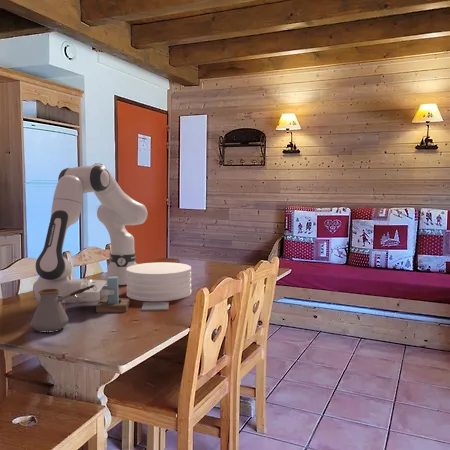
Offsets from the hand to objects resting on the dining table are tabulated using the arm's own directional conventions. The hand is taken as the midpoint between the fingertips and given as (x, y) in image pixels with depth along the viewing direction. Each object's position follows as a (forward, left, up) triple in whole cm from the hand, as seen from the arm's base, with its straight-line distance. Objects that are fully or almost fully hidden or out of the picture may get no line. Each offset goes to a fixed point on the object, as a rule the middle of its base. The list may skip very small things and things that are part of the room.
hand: (115, 290), depth 175 cm
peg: (0, -1, -7) cm, 7 cm away
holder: (0, -1, -7) cm, 7 cm away
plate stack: (-23, +15, -7) cm, 29 cm away
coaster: (0, +15, -7) cm, 17 cm away
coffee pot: (+25, -13, -7) cm, 29 cm away
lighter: (+16, -18, -7) cm, 25 cm away
